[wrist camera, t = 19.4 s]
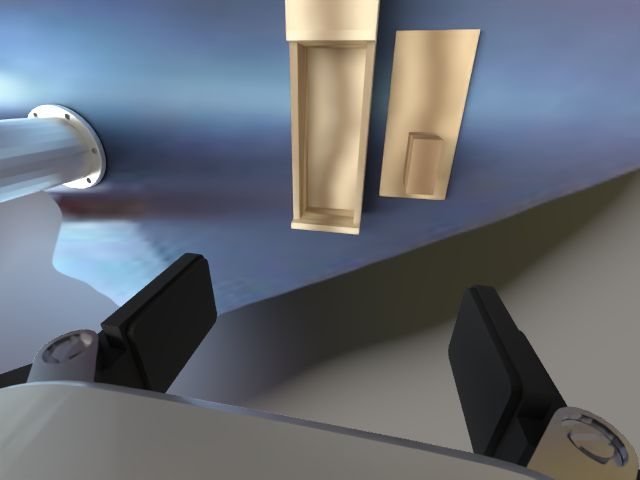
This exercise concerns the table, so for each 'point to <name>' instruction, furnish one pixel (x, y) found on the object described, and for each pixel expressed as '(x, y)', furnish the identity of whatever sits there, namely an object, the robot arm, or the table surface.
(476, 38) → the lid
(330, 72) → the light wooden long piece
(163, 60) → the table surface
